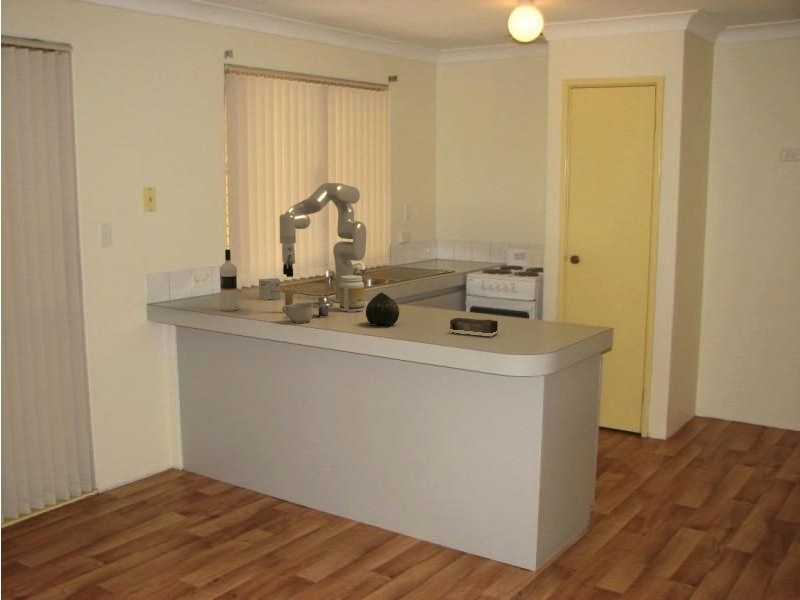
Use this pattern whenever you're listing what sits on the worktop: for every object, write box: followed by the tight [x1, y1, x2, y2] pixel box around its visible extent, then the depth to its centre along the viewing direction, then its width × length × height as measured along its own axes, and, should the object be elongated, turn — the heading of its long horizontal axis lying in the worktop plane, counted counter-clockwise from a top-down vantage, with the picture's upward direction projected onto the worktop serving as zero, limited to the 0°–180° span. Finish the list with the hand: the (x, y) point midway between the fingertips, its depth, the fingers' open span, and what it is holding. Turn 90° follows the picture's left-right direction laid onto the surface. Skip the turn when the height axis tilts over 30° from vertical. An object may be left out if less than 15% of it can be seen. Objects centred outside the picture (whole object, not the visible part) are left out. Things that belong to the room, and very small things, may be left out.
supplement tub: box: [339, 274, 365, 313], centre depth 394 cm, size 12×12×17 cm
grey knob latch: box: [303, 296, 334, 317], centre depth 377 cm, size 17×10×9 cm, turn 107°
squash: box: [365, 292, 400, 326], centre depth 358 cm, size 14×15×15 cm
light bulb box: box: [258, 277, 281, 301], centre depth 428 cm, size 11×7×11 cm, turn 108°
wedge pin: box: [282, 287, 296, 314], centre depth 387 cm, size 5×3×12 cm, turn 107°
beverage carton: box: [449, 317, 498, 333], centre depth 339 cm, size 8×19×7 cm, turn 62°
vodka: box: [219, 248, 240, 312], centre depth 393 cm, size 9×9×30 cm
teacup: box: [281, 302, 314, 324], centre depth 364 cm, size 14×11×8 cm
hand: (288, 275), depth 385 cm, fingers open, 9 cm apart
